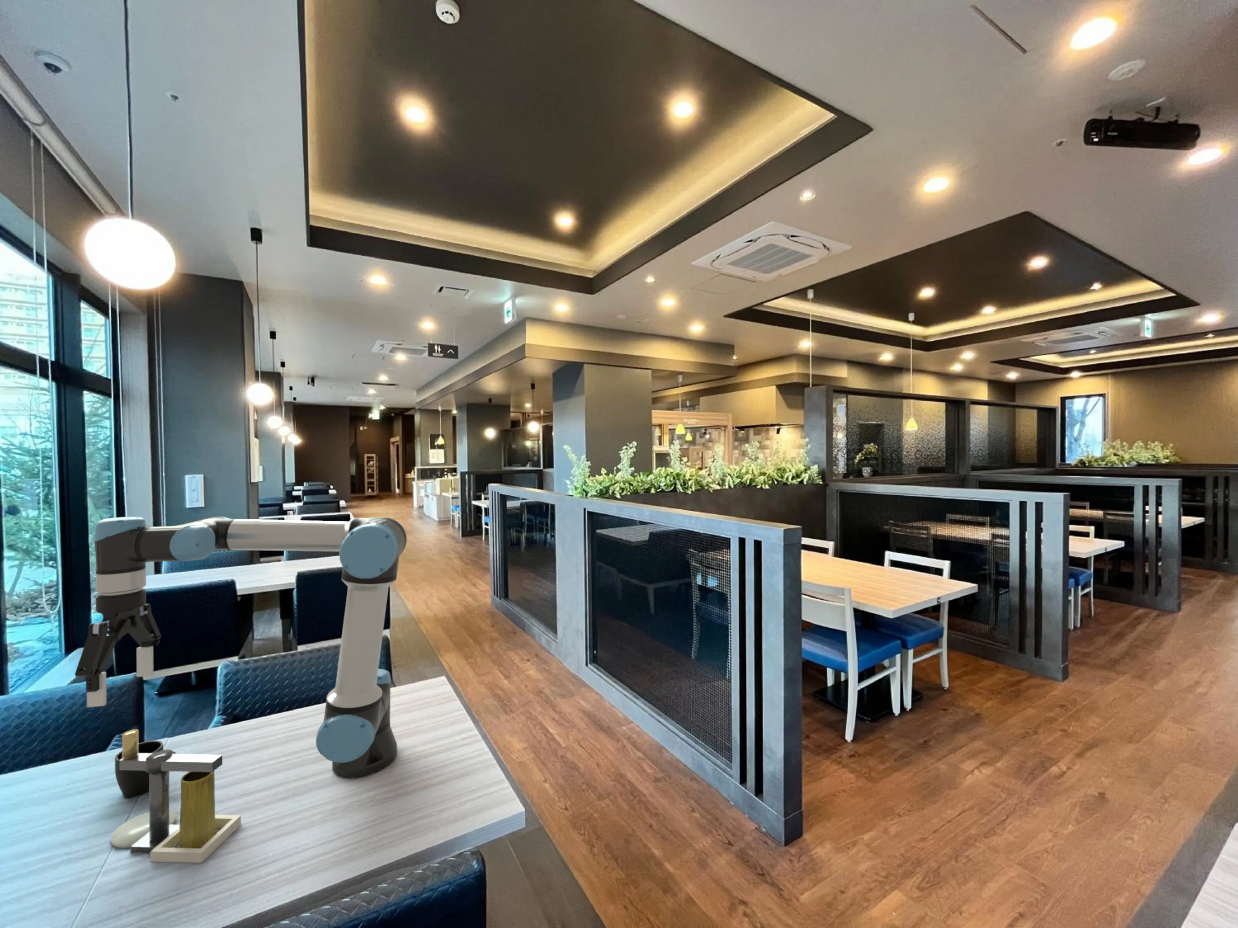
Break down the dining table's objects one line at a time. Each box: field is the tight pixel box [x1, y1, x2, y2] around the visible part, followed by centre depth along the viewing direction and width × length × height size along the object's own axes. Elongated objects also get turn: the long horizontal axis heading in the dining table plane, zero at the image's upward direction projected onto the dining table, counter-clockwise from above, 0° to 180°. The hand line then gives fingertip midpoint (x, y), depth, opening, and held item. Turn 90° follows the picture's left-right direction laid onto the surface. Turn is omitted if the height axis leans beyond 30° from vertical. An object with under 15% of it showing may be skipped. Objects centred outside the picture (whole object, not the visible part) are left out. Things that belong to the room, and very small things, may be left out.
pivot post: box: [129, 771, 180, 854], centre depth 102 cm, size 6×6×15 cm
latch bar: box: [119, 728, 223, 773], centre depth 101 cm, size 19×4×7 cm, turn 90°
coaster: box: [110, 808, 177, 849], centre depth 105 cm, size 10×10×1 cm
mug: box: [114, 740, 177, 799], centre depth 117 cm, size 8×12×10 cm
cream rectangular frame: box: [150, 814, 242, 864], centre depth 102 cm, size 10×10×2 cm
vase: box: [177, 770, 218, 849], centre depth 101 cm, size 6×6×14 cm
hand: (122, 689), depth 105 cm, fingers open, 13 cm apart
